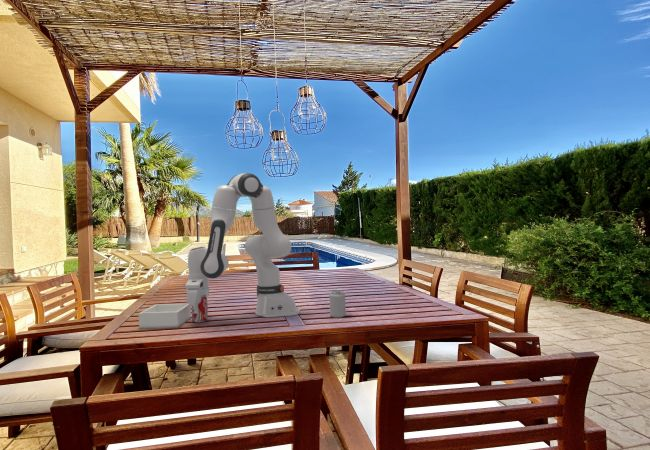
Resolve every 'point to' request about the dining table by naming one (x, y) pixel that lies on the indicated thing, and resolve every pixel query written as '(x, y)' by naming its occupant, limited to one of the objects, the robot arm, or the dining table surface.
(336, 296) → the can
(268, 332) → the dining table surface
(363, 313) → the dining table surface
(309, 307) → the dining table surface
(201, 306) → the soda can
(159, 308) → the bin
